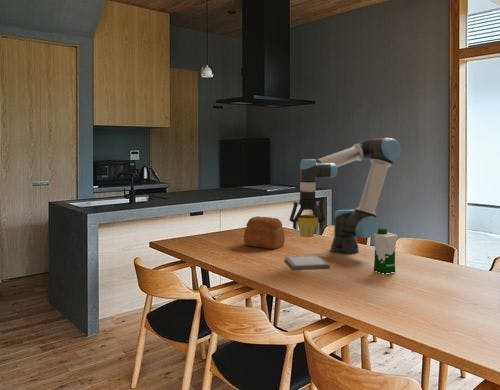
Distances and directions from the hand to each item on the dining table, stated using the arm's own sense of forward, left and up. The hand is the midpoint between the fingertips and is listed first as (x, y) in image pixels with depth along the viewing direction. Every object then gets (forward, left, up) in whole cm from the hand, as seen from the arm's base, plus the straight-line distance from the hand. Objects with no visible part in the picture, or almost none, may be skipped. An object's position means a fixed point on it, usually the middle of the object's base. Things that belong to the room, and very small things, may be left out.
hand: (306, 235), depth 221 cm
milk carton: (-32, +19, -15) cm, 40 cm away
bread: (+14, -42, -15) cm, 47 cm away
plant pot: (0, 0, 0) cm, 0 cm away
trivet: (0, 0, -14) cm, 14 cm away
